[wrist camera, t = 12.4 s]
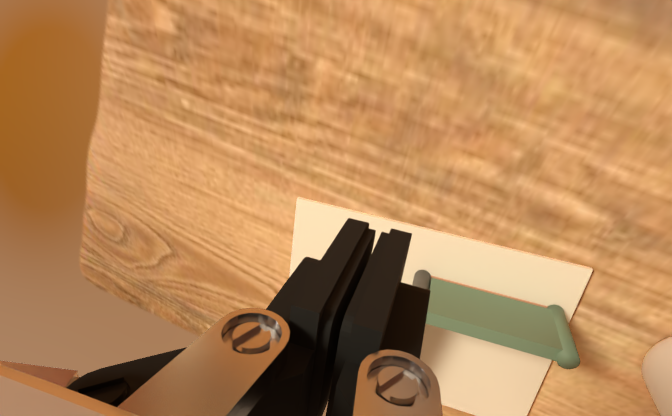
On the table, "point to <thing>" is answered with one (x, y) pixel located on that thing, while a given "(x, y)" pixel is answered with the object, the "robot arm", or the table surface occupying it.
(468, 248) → the card
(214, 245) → the table surface
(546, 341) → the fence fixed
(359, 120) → the table surface
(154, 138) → the table surface
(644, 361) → the milk bottle
